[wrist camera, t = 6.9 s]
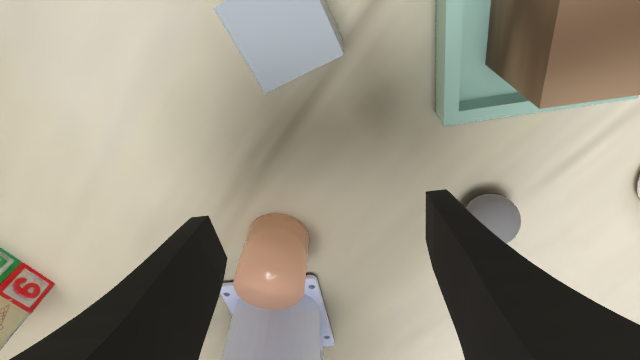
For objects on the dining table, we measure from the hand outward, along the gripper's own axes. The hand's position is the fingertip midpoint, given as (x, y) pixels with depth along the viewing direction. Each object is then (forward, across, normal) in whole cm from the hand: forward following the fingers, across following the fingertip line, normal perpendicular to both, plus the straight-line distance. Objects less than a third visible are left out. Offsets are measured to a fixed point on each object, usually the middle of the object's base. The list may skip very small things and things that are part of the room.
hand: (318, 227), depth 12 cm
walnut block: (+9, -10, -4) cm, 14 cm away
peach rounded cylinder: (+10, +5, +9) cm, 14 cm away
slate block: (+10, +1, -5) cm, 11 cm away
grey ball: (+8, -9, +8) cm, 14 cm away
